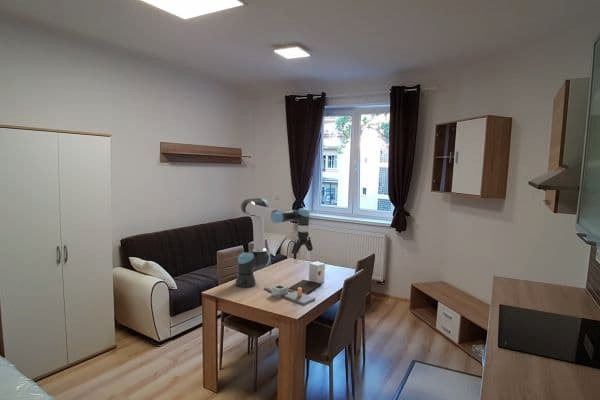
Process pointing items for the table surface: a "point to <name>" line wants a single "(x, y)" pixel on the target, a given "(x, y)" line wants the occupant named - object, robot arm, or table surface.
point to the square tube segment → (279, 291)
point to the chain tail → (268, 289)
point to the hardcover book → (305, 286)
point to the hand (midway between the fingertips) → (302, 261)
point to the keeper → (299, 297)
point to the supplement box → (316, 272)
